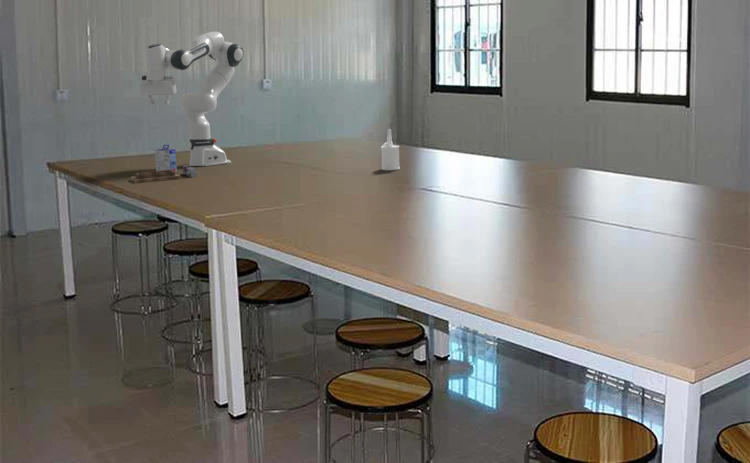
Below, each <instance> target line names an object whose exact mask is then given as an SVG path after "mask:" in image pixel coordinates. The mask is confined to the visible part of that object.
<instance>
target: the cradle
mask: <svg viewBox="0 0 750 463" xmlns="http://www.w3.org/2000/svg"><path fill="white" fill-rule="evenodd" d="M134 174H135V176H130V180H131V182H133V183H135V184H139V183H141V184H142V183H150V182H158V181H159V182H162V181H169V180H170V181H171V180H179V179H180V180H181V174H178V173H175V171H173V170H163V171H156V170H154V171H145V172H135V173H134Z"/></svg>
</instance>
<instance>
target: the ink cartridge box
mask: <svg viewBox="0 0 750 463" xmlns="http://www.w3.org/2000/svg"><path fill="white" fill-rule="evenodd" d="M169 147H170V144H163V146H162V147H161V148H159V149H155V150H154V158H155V159H154V160H155V171H163V170H173V171H175V173H176V174H178V173H177V172H178V168H177V166H178V165H177V156H176V155H177V153H176V149H175V148H169Z"/></svg>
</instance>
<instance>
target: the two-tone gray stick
mask: <svg viewBox="0 0 750 463" xmlns="http://www.w3.org/2000/svg"><path fill="white" fill-rule="evenodd" d="M182 174H183V175H184V176H187V177H189V178H198V170H197V168H196V167H195V166H192V165H189V164H184V165H182Z"/></svg>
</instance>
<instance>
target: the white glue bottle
mask: <svg viewBox="0 0 750 463" xmlns="http://www.w3.org/2000/svg"><path fill="white" fill-rule="evenodd" d="M392 134H393V133H392V129H391V128H388V129H387V134H386V135H387V137H386V142H384V143H382V146H380V149H381V170H383V171H397V170H400V169H401V167H400V145H396V144H393V143H394V142H393V141H392V140H393V138H392Z"/></svg>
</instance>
